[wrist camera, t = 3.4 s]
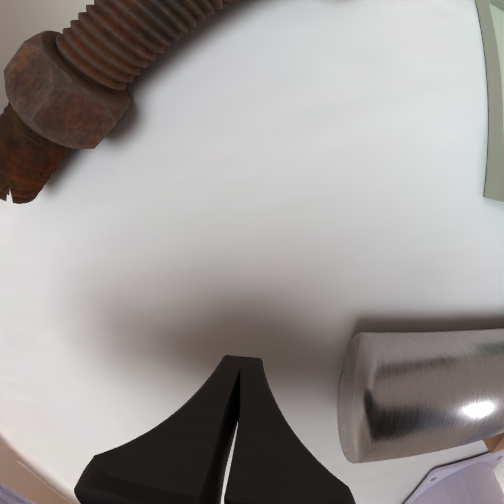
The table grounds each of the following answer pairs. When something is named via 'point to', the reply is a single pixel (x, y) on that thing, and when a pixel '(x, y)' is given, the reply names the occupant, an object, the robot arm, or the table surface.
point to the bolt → (80, 83)
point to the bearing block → (495, 443)
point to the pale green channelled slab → (494, 92)
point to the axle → (420, 392)
